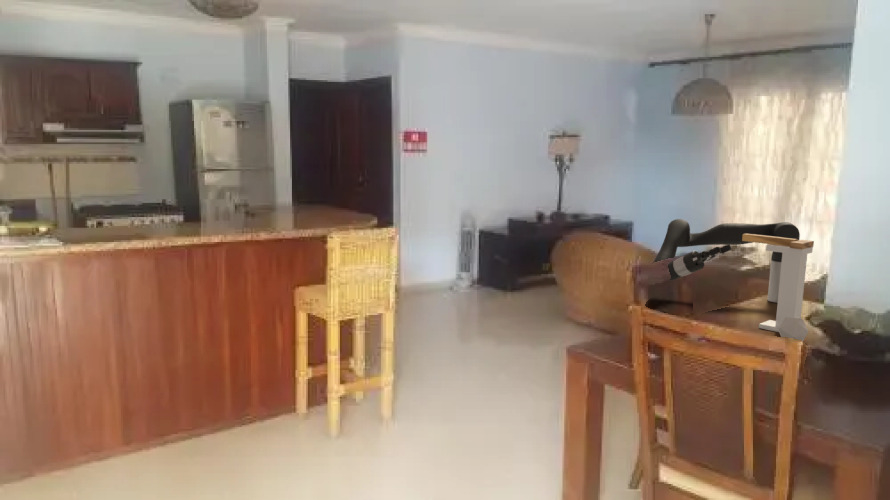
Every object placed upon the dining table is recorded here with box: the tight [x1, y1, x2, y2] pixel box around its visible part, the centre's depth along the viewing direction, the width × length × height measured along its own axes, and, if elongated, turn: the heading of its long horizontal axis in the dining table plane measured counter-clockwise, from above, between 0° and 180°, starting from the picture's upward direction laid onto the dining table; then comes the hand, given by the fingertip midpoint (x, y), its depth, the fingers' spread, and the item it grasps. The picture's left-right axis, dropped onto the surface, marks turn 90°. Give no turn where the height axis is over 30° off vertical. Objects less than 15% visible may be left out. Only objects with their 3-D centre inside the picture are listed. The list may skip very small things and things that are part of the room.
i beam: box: [758, 244, 814, 333], centre depth 240 cm, size 9×12×30 cm
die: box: [778, 317, 809, 342], centre depth 225 cm, size 8×9×10 cm
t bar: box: [742, 233, 815, 249], centre depth 241 cm, size 10×22×2 cm, turn 42°
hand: (725, 247), depth 254 cm, fingers open, 8 cm apart
